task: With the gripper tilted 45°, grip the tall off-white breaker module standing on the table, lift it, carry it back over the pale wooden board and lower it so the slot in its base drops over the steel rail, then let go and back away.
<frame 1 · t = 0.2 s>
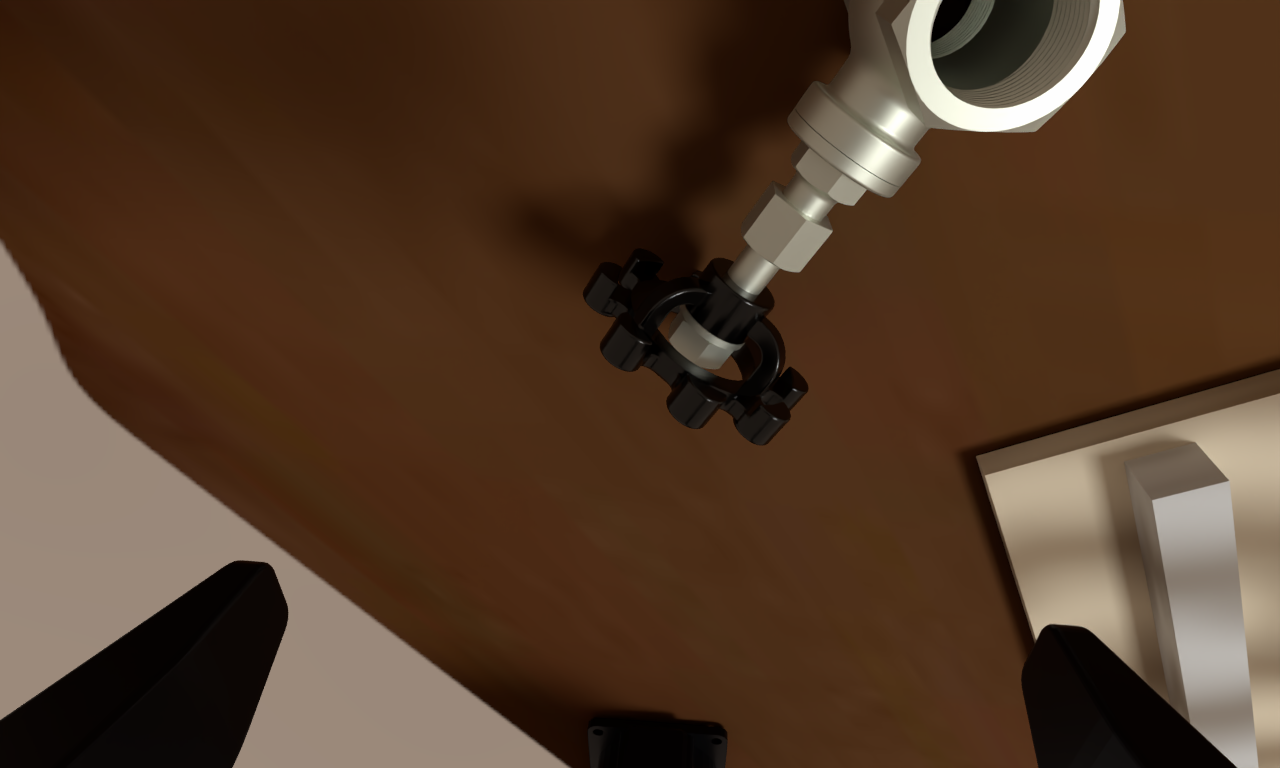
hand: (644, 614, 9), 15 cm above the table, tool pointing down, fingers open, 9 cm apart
valve: (814, 128, 20), on the table
din board: (1181, 657, 29), on the table
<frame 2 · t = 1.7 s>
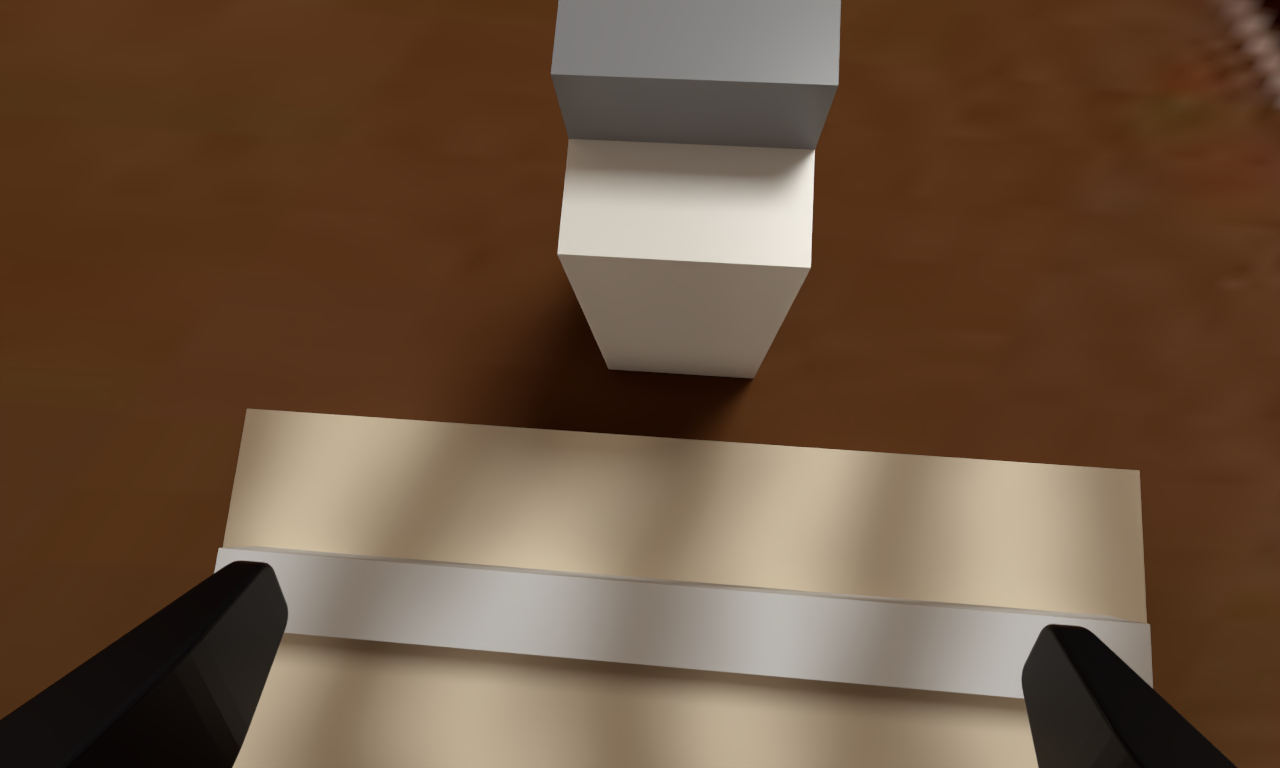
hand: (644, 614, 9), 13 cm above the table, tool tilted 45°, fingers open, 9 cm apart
breaker module: (685, 304, 23), on the table
din board: (664, 612, 22), on the table
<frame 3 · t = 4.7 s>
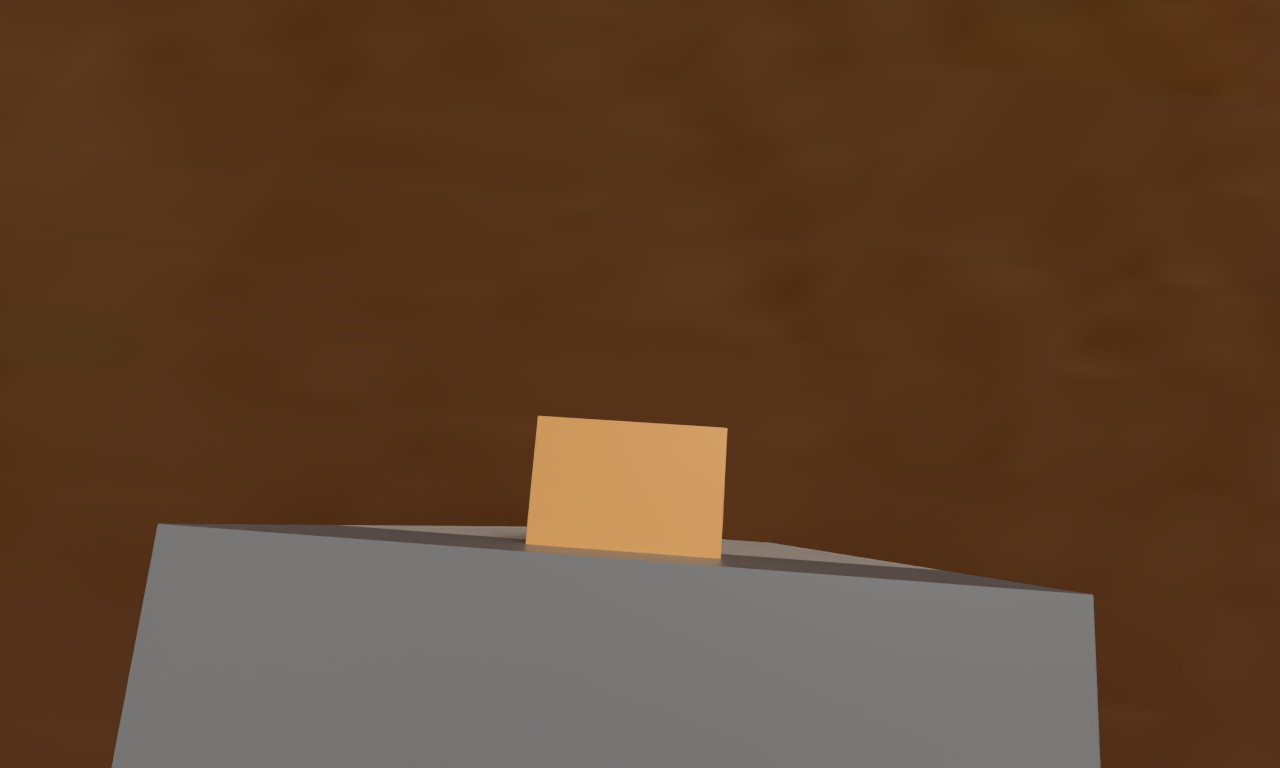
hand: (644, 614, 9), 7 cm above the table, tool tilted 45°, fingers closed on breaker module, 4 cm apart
breaker module: (654, 648, 15), on the table, touching gripper
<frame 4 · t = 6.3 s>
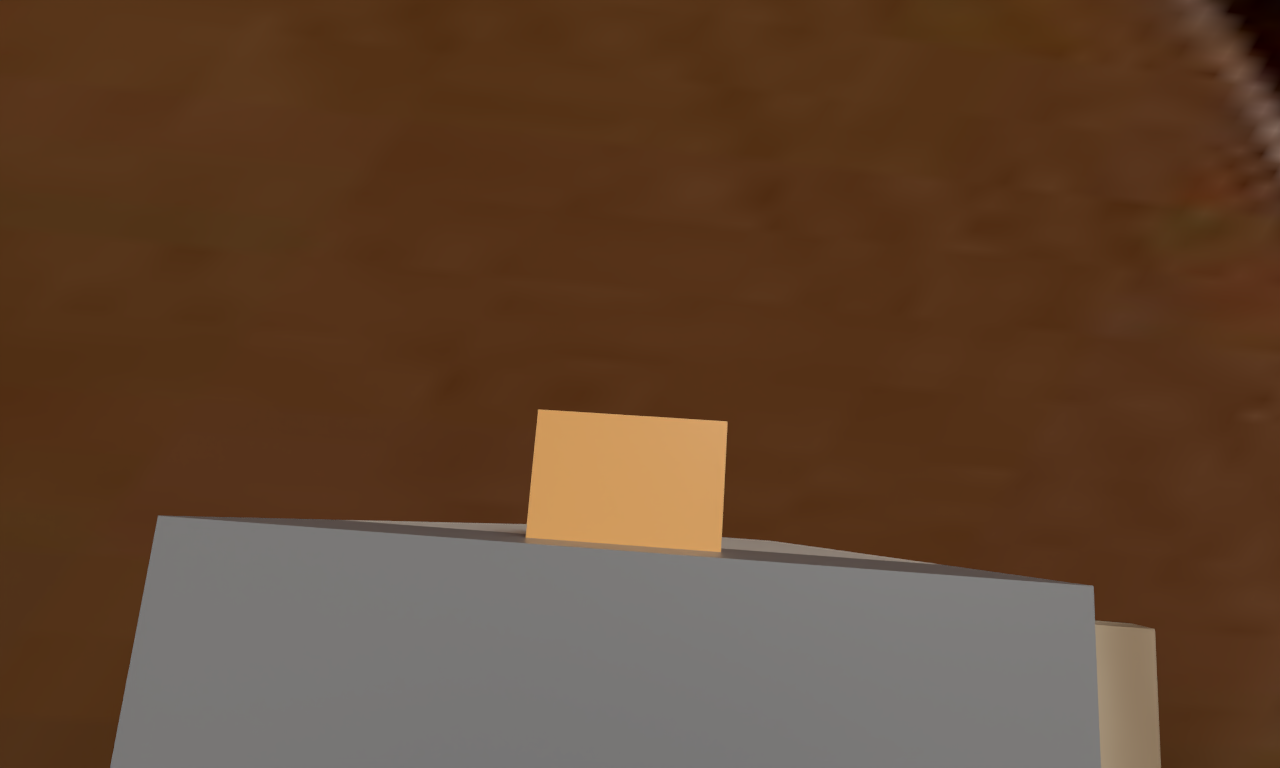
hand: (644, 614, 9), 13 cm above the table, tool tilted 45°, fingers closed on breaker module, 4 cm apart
breaker module: (654, 646, 15), point 6 cm above the table, touching gripper
when the fingers open (8 cm above the table, at t = 8.2 s): breaker module stays where it is, resting on din board.
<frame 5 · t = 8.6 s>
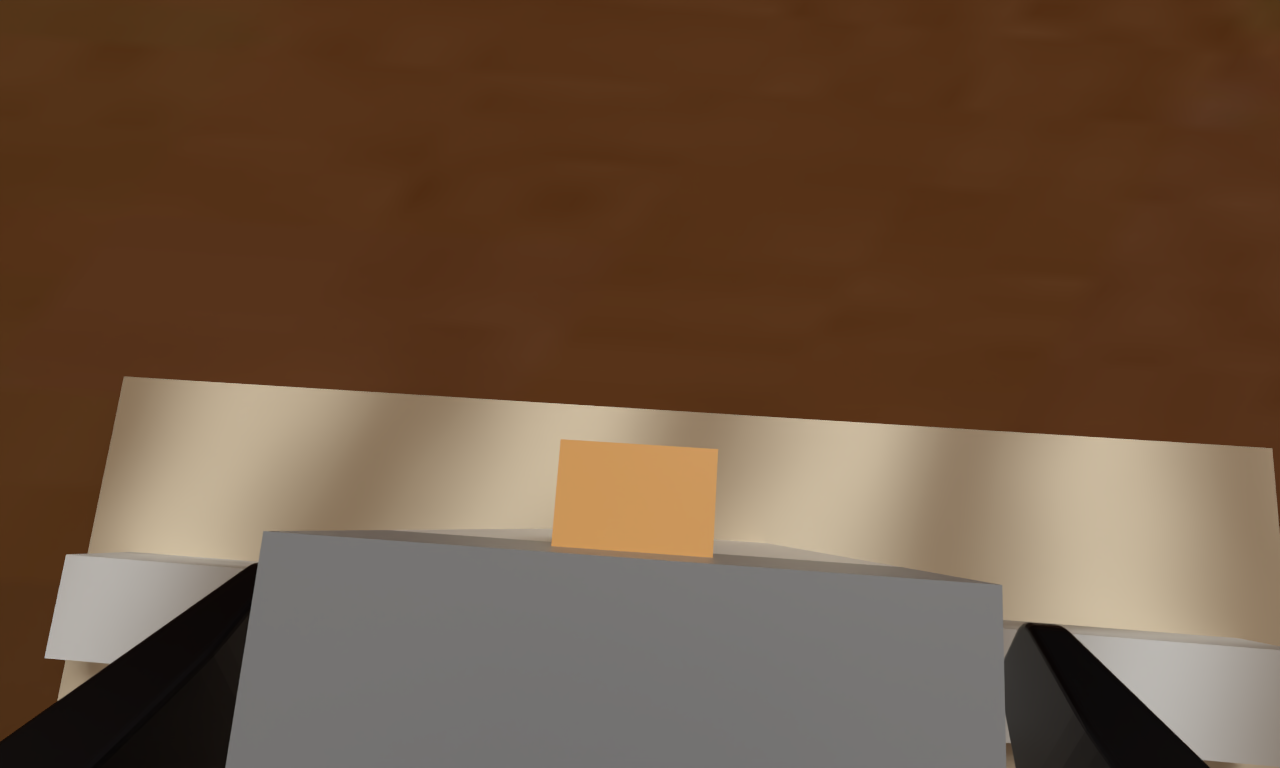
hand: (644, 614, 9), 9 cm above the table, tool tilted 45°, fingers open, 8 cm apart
breaker module: (655, 642, 16), point 1 cm above the table, touching din board
din board: (656, 634, 17), on the table
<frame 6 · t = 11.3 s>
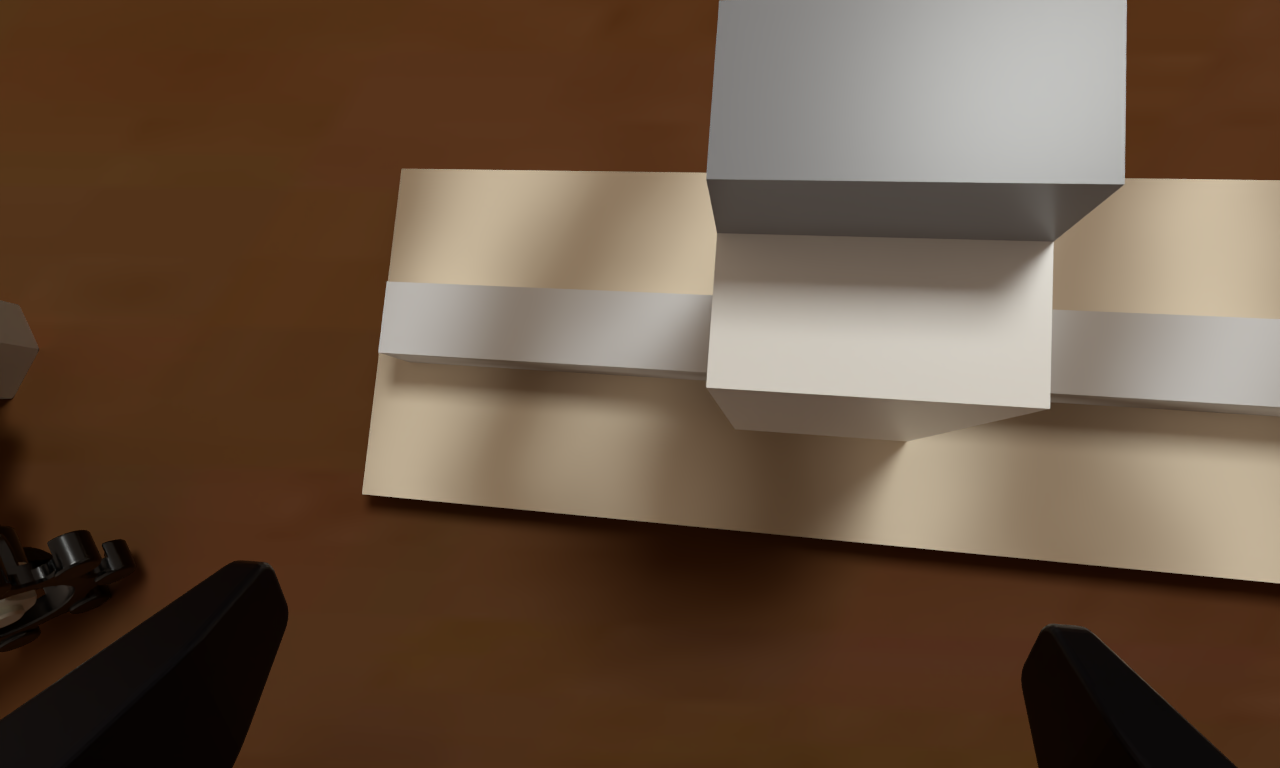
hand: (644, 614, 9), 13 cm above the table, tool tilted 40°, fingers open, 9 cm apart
breaker module: (823, 352, 20), point 1 cm above the table, touching din board
valve: (43, 447, 25), on the table
din board: (820, 357, 21), on the table
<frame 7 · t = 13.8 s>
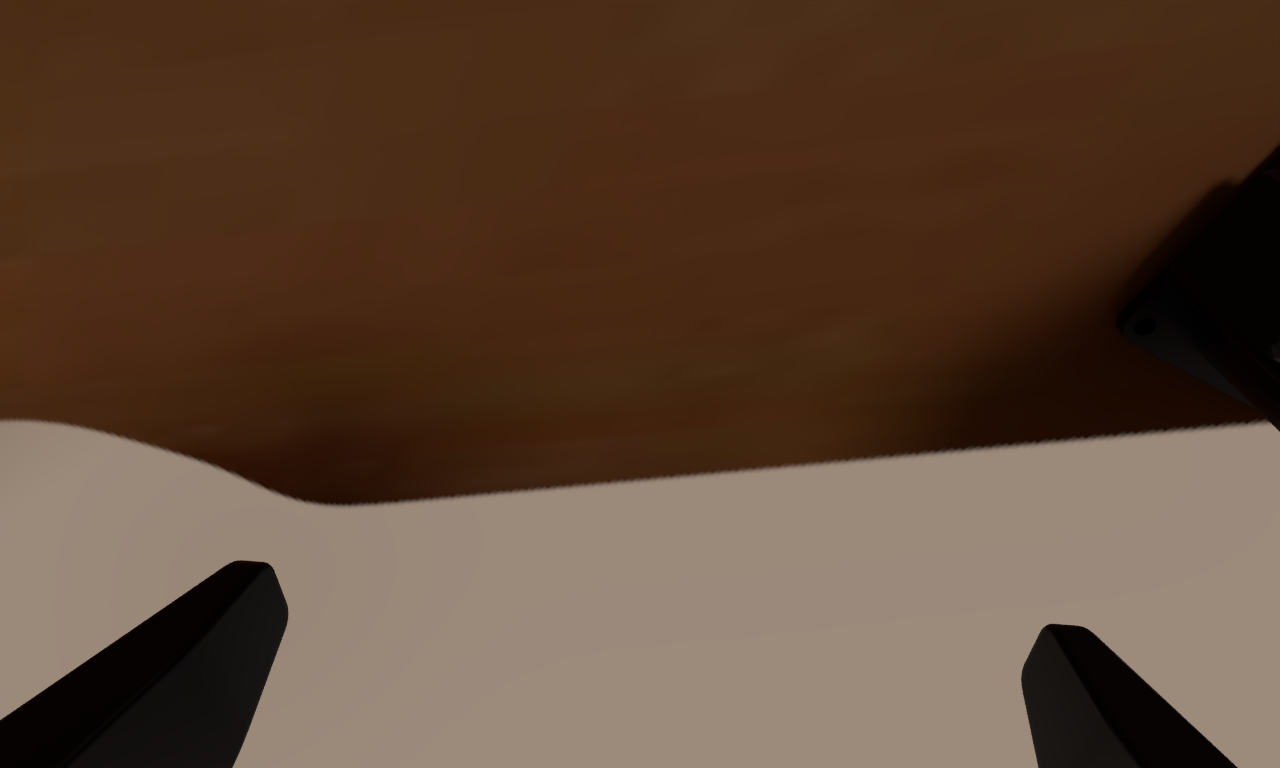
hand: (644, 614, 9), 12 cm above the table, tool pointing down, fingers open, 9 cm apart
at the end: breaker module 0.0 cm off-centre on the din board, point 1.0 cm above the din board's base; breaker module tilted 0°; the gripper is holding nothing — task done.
